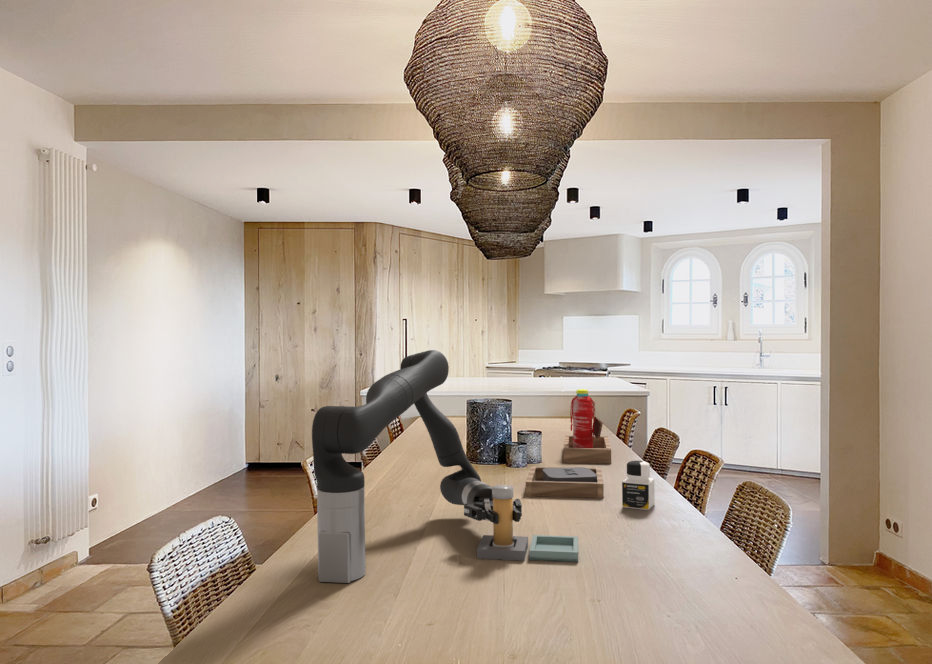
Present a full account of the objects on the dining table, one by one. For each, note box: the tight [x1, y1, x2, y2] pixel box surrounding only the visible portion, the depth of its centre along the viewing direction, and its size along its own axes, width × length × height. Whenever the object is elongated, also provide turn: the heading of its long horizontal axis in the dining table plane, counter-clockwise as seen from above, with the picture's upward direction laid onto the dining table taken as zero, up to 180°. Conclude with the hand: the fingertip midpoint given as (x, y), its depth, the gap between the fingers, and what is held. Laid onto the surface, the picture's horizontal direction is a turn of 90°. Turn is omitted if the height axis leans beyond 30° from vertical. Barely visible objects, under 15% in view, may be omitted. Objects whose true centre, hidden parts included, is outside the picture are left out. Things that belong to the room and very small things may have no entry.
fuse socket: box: [476, 534, 529, 561], centre depth 149 cm, size 10×10×2 cm
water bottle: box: [569, 388, 604, 448], centre depth 261 cm, size 12×8×25 cm, turn 80°
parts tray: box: [529, 534, 579, 563], centre depth 148 cm, size 11×10×2 cm
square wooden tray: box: [525, 466, 605, 499], centre depth 208 cm, size 22×22×4 cm
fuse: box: [491, 484, 514, 547], centre depth 149 cm, size 5×5×14 cm
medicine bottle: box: [621, 460, 656, 511], centre depth 186 cm, size 7×7×12 cm
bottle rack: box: [562, 435, 612, 464], centre depth 261 cm, size 30×17×5 cm, turn 171°
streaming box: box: [543, 466, 597, 482], centre depth 207 cm, size 14×14×5 cm
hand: (507, 518), depth 146 cm, fingers closed on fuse, 4 cm apart
